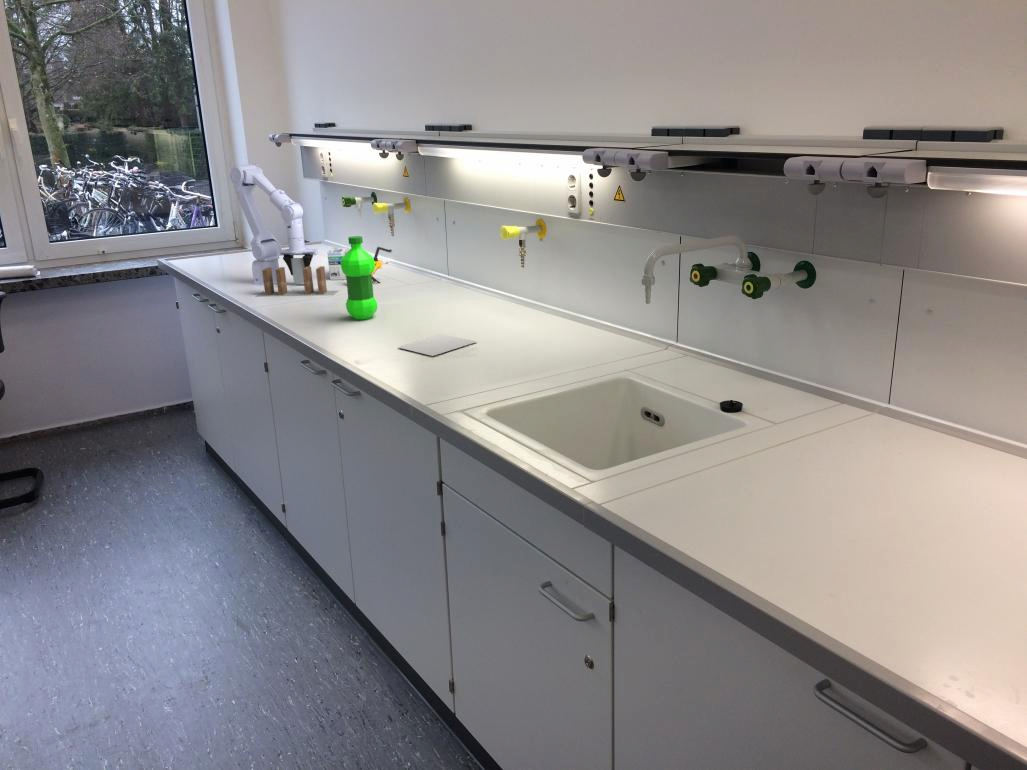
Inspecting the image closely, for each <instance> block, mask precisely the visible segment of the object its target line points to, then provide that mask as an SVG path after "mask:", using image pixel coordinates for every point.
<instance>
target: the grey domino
mask: <svg viewBox="0 0 1027 770" xmlns="http://www.w3.org/2000/svg"><path fill="white" fill-rule="evenodd" d="M291 262H292V271H293V275H292V277H293V279H292V280H293V284H304V279H303V270H302V269H304V268H305V266H304V261H303V258H302V257H293V258H292V259H291Z"/></svg>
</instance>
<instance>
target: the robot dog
mask: <svg viewBox="0 0 1027 770" xmlns="http://www.w3.org/2000/svg"><path fill="white" fill-rule="evenodd" d="M380 250H381V251H383V252H387V253H392V252H393V250H392V249H388V248H384V247H381V246H377V247H376V250H375V253H374V256H373V259H374V261H375V270H374V272H373V273H372V282H375V283H377V284H381V282H380V281H379V280H377V279H376V278H375V277H374V274H375V273H376V272H377V271H378V270H379V269H381V270H382V268H383V260H381V259H379V258H378V257H379V253H380ZM345 276H346V275H345Z"/></svg>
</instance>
